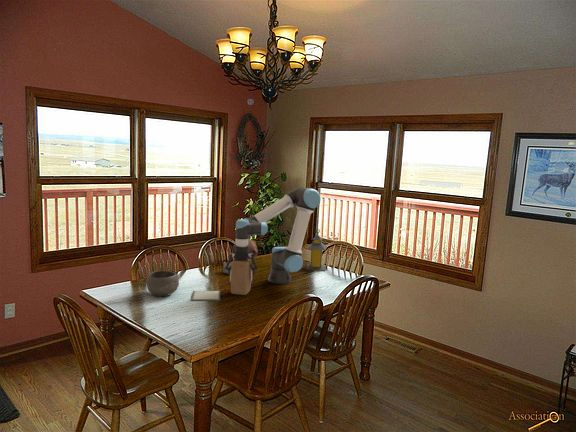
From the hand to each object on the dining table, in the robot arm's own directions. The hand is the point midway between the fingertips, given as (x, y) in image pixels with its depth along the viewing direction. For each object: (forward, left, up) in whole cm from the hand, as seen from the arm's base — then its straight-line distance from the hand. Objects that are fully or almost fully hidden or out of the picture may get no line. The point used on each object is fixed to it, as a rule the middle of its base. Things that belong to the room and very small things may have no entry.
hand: (240, 280), depth 254 cm
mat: (+20, +6, -7) cm, 22 cm away
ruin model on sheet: (+5, -42, -8) cm, 43 cm away
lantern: (-59, -56, -8) cm, 82 cm away
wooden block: (0, 0, -8) cm, 8 cm away
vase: (-6, -72, -8) cm, 73 cm away
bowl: (+45, +3, -8) cm, 46 cm away
